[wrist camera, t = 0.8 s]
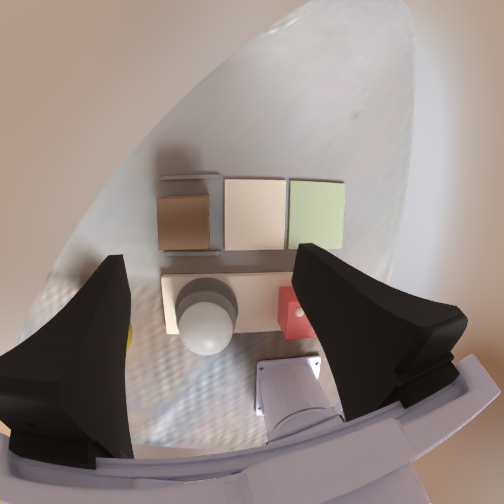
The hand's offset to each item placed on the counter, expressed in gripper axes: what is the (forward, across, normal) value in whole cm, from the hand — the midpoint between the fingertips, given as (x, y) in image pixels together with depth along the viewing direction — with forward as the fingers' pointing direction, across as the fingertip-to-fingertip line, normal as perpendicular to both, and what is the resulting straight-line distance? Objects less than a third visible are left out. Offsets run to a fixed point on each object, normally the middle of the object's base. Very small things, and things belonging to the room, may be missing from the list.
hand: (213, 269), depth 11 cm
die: (+11, -10, +14) cm, 20 cm away
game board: (+14, -6, +9) cm, 18 cm away
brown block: (+17, 0, +6) cm, 17 cm away
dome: (+10, -1, +13) cm, 17 cm away
